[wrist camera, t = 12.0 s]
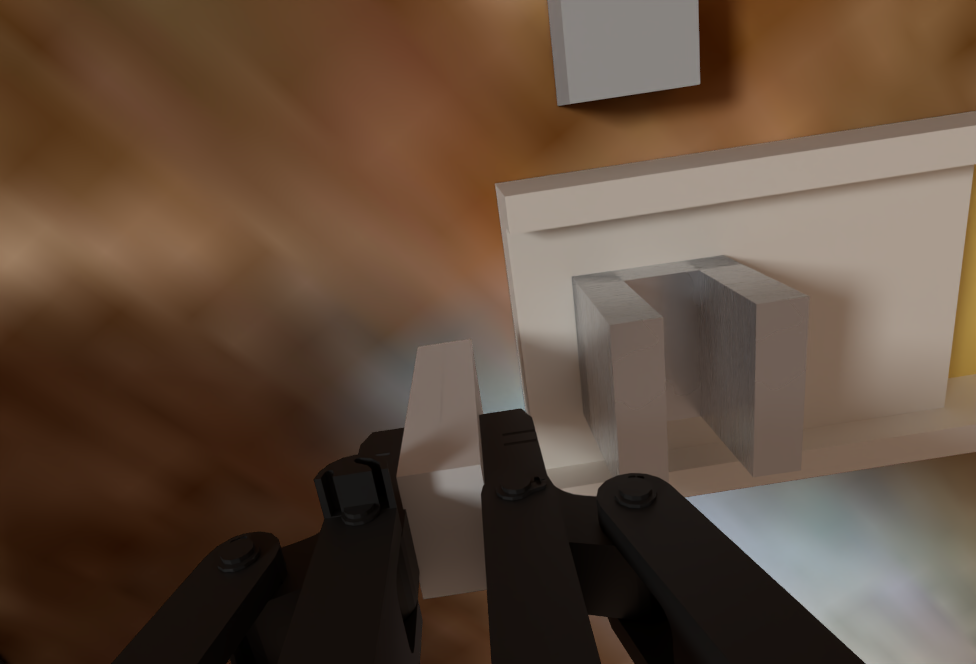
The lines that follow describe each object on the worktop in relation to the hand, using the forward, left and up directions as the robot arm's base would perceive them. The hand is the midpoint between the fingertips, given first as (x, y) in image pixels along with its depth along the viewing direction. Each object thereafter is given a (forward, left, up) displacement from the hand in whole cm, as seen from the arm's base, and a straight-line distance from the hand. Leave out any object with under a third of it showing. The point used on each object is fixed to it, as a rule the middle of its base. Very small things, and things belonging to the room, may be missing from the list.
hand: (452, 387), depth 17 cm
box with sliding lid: (+13, 0, -4) cm, 14 cm away
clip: (+6, 0, -1) cm, 6 cm away
